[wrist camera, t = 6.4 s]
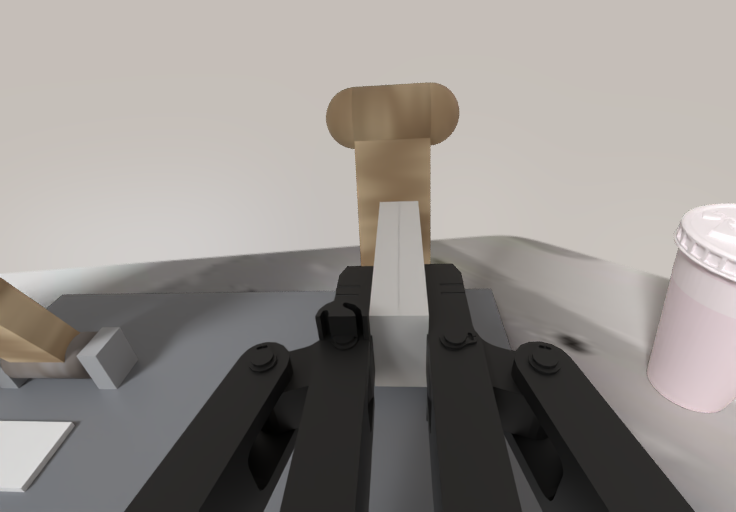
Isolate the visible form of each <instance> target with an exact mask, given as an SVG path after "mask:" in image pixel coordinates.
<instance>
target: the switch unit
mask: <svg viewBox="0 0 736 512" xmlns="http://www.w3.org/2000/svg"><path fill="white" fill-rule="evenodd" d="M335 294H336V291H288V292H217V293H146V294H76V295H61V296H60V297H59V298H58V299H57V300H56V301H55V302H53V303H52V304H51V305H50V306H49V307H48V308H47V310H48V311H49V312H51V313H52V314H54V315H55V316H57V317H58V318H60V319H61V320H62V321H64V322H65V323H67V324H68V325H70V326H71V327H73V328H74V329H75V330H77V331H78V332H98V333H97V334H96V335H95V336H94V337H93V338H92V339H91V340H90V342H89V343H88V344H87V345H86V346H85V347H84V348H83V349H82V350H81V352H80V353H79V354H78V355H77V358H78V359H79V361H80V362H81V364H82V365H83V366H84V368H85V369H86V371H87V372H88V374H89V375H90V377H91V378H90V379H63V378H12V377H10V376H8V375H6V374H5V373H4V371H3V370H2V367H1V364H0V512H124V511H125V509H126V508H127V507H128V505H129V504H130V503H131V501H132V500H133V499H134V497H135V496H136V495H137V493H138V492H139V491H140V489H141V488H142V487H143V485H144V484H145V483H146V481H147V480H148V479H149V477H150V476H151V475H152V473H153V472H154V471H155V469H156V468H157V467H158V466H159V464H160V463H161V462H162V460H163V459H164V458H165V456H166V455H167V454H168V452H169V451H170V450H171V448H172V447H173V446H174V444H175V443H176V442H177V440H178V439H179V438H180V436H181V435H182V434H183V432H184V431H185V430H186V428H187V427H188V426H189V424H190V423H191V422H192V420H193V419H194V418H195V416H196V415H197V414H198V412H199V411H200V410H201V408H202V407H203V406H204V404H205V403H206V402H207V400H208V399H209V398H210V396H211V395H212V394H213V392H214V391H215V390H216V388H217V387H218V386H219V384H220V383H221V382H222V380H223V379H224V378H225V376H226V375H227V374H228V372H229V371H230V370H231V368H232V367H233V366H234V364H235V363H236V362H237V360H238V359H239V358H240V356H241V355H242V354H243V353H244V352H246V351H247V350H248V349H249V348H251V347H253V346H255V345H257V344H261V343H265V342H277V343H279V344H281V345H284V346H285V348H286V349H287V350H288V351H293V350H296V349H300V348H304V347H307V346H310V345H312V344H314V343H315V342H317V341H318V340H319V335H318V330H317V325H316V319H315V315H316V314H317V312H318V310H319V309H320V308H321V307H323V306H324V305H325V304H327V303H330V302H332V301H334V298H335ZM465 294H466V297H467V302H468V306H469V310H470V315H471V319H472V324H473V327H474V330H475V331H476V332H477V333H478V335H479V336H480V337H481V338H482V339H483V340H484V341H486V342H488V343H490V344H492V345H494V346H497V347H500V348H504V349H508V350H511V347H510V344H509V341H508V338H507V335H506V332H505V329H504V326H503V323H502V320H501V317H500V314H499V311H498V308H497V305H496V302H495V299H494V296H493V293H492V290H491V289H465ZM374 398H375V411H374V429H373V446H372V464H371V481H370V498H369V512H434V507H433V492H432V477H431V461H430V446H429V431H428V421H426V413H427V387H392V386H375V383H374ZM504 437H505V436H504ZM505 441H506V446H507V450H508V454H509V458H510V462H511V467H512V471H513V475H514V479H515V483H516V488H517V492H518V496H519V500H520V504H521V509H522V512H543V511H542V509H541V507H540V505H539V503H538V501H537V499H536V497H535V496H534V494H533V492H532V490H531V488H530V486H529V484H528V482H527V480H526V478H525V476H524V474H523V472H522V470H521V468H520V466H519V464H518V462H517V460H516V458H515V456H514V454H513V452H512V450H511V448H510V446H509V444H508V442H507V440H506V438H505ZM293 451H294V450H293ZM292 456H293V452H292V454H291V456H290V458H289V460H288V462H287V465H286V467H285V469H284V471H283V473H282V475H281V477H280V479H279V481H278V483H277V485H276V487H275V489H274V491H273V493H272V496H271V498H270V500H269V502H268V504H267V506H266V508H265V510H264V512H280V507H281V503H282V499H283V495H284V490H285V486H286V482H287V477H288V473H289V469H290V464H291V460H292Z"/></svg>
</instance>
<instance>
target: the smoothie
mask: <svg viewBox="0 0 736 512" xmlns="http://www.w3.org/2000/svg"><path fill="white" fill-rule="evenodd" d="M674 241H675V243H676V245H677V246H678V251H677V255H676V259H675V262H674V265H673V269H672V274H671V278H670V282H669V286H668V290H667V294H666V298H665V301H664V305H663V309H662V313H661V317H660V321H659V325H658V329H657V333H656V337H655V340H654V344H653V348H652V352H651V356H650V360H649V364H648V368H647V376H648V379H649V381H650V382H651V384H652V385H653V387H654V388H655V389H656V390H657V391H658V392H659V393H660V394H661V395H663V396H664V397H665V398H667V399H668V400H670V401H671V402H673V403H675V404H677V405H679V406H681V407H684V408H686V409H689V410H692V411H696V412H702V413H714V412H719V411H721V410H723V409H724V408H725V407H727V406H728V405H729V404H730V403H731V402H732V401H733V400H734V399H735V398H736V204H733V203H724V204H710V205H704V206H700V207H696V208H693V209H691V210H689V211H687V212H686V213H685V214H684V215H683V217H682V220H681V222H680V224H679V227H678V228H677V229H676V231H675V232H674Z"/></svg>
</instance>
